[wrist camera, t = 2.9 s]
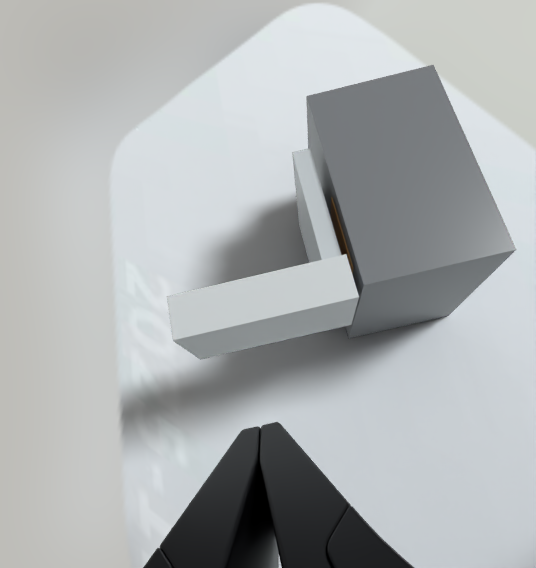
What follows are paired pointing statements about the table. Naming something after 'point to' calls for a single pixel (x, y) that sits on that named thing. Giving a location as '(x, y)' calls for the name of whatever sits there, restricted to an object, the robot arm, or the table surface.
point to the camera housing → (404, 198)
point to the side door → (274, 289)
